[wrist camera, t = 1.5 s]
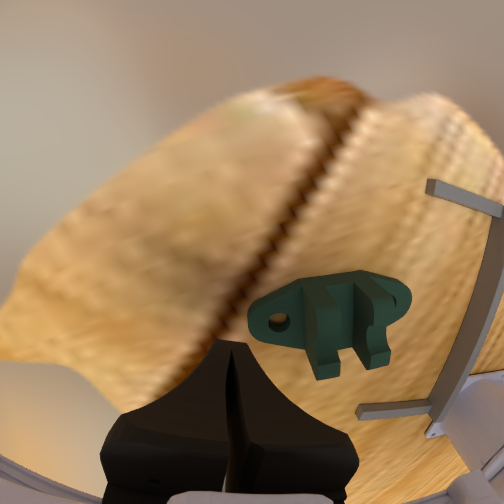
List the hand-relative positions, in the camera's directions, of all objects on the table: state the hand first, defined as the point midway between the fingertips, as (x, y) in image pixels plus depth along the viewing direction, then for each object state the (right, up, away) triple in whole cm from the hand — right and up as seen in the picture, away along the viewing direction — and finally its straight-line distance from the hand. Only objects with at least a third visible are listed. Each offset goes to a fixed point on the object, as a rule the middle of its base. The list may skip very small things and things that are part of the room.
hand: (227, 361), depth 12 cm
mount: (+6, +1, +8) cm, 10 cm away
